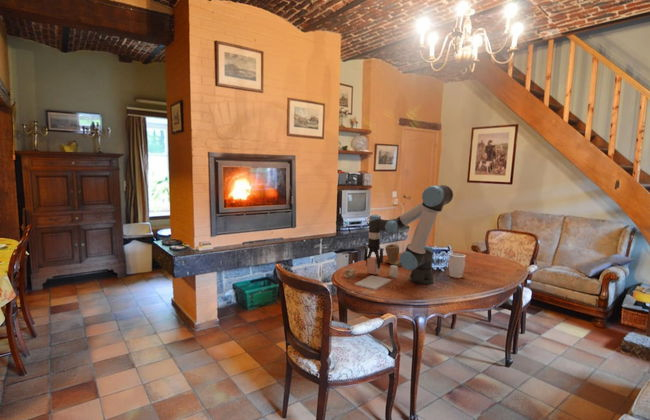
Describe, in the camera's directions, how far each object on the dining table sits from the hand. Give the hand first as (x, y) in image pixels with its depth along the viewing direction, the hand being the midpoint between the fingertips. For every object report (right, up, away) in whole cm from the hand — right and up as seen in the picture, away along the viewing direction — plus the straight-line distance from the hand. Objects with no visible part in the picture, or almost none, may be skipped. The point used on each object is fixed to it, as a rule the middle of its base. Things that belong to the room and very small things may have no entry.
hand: (372, 271), depth 245 cm
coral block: (0, 0, 0) cm, 0 cm away
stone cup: (+19, +1, +27) cm, 33 cm away
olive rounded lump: (-16, -2, -7) cm, 18 cm away
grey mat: (-2, -4, -18) cm, 18 cm away
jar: (+57, -4, +2) cm, 57 cm away
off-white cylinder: (+13, -3, -3) cm, 14 cm away
